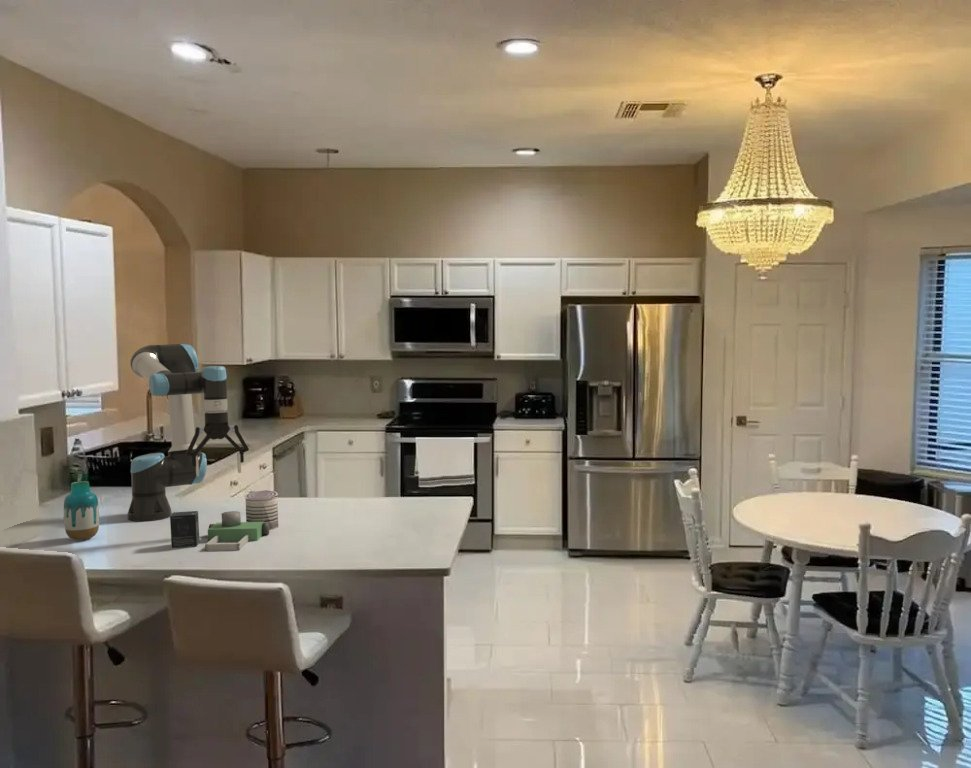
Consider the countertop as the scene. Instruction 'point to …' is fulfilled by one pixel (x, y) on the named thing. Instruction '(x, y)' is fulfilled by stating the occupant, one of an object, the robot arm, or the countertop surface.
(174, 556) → the countertop surface
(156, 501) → the robot arm
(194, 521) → the box
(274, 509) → the can
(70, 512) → the vase
